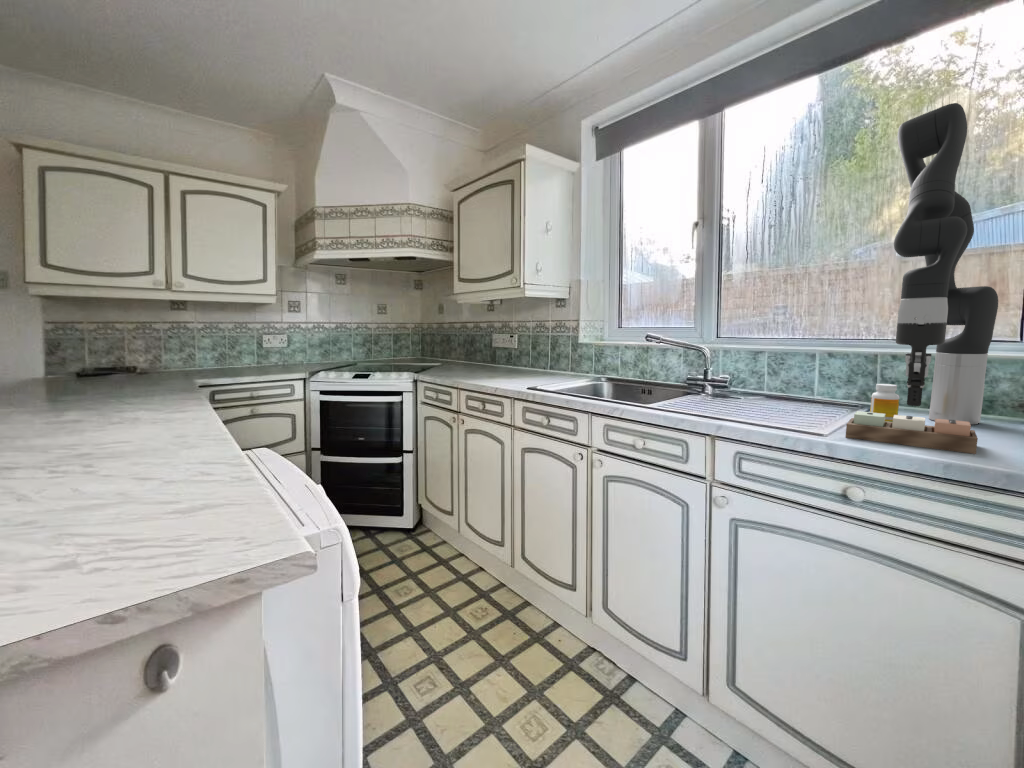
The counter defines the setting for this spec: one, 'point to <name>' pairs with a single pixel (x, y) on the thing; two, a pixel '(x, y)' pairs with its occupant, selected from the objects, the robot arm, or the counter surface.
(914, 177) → the robot arm
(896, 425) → the cream block
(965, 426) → the salmon pink block
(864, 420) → the pale green block
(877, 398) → the supplement bottle
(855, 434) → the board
